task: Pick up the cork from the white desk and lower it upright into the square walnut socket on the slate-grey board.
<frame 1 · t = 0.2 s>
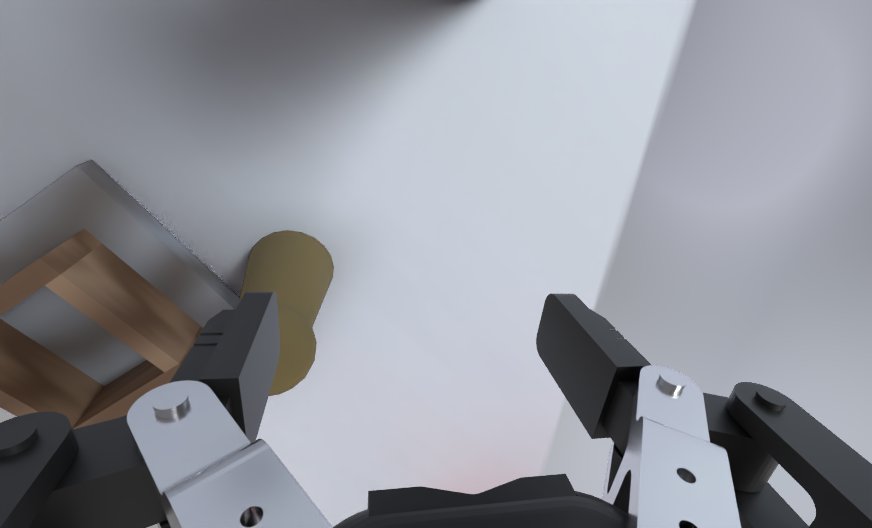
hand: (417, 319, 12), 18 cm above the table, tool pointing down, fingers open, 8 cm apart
cork: (292, 266, 30), on the table
socket block: (108, 312, 29), on the table
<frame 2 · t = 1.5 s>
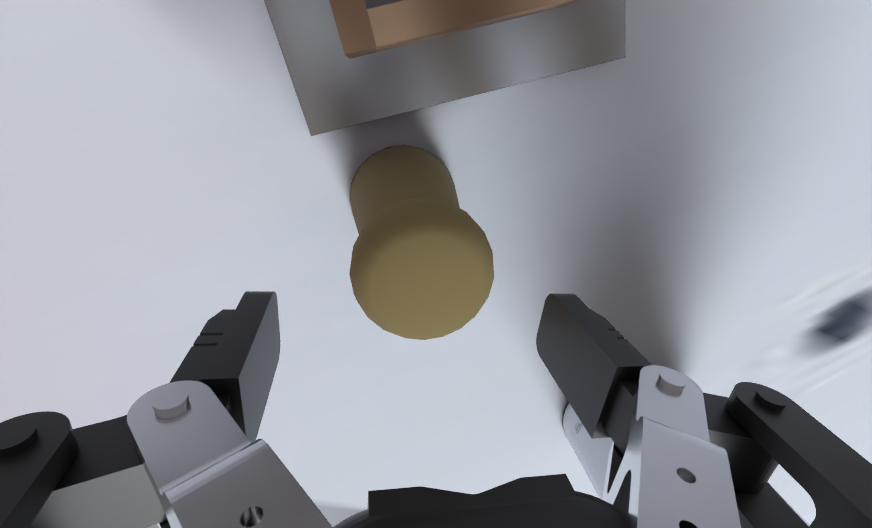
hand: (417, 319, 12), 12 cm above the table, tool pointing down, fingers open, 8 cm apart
cork: (403, 198, 23), on the table
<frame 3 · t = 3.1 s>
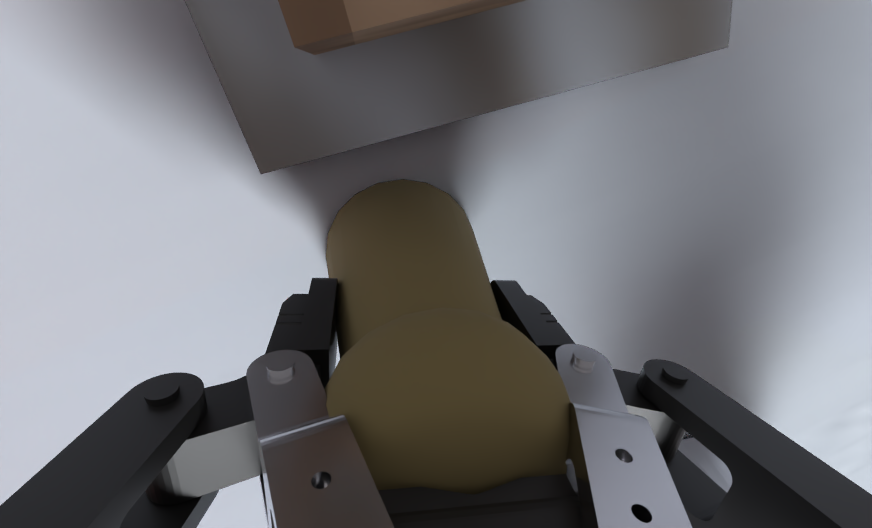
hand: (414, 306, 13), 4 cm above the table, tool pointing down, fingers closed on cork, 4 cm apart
cork: (402, 251, 17), on the table, touching gripper
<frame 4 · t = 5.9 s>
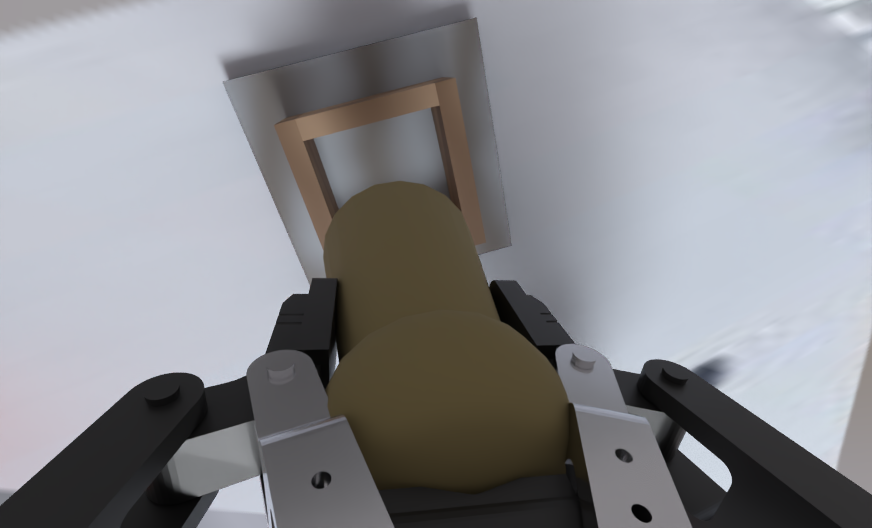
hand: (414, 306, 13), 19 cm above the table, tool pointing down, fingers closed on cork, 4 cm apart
cork: (399, 252, 17), point 15 cm above the table, touching gripper
socket block: (386, 170, 30), on the table
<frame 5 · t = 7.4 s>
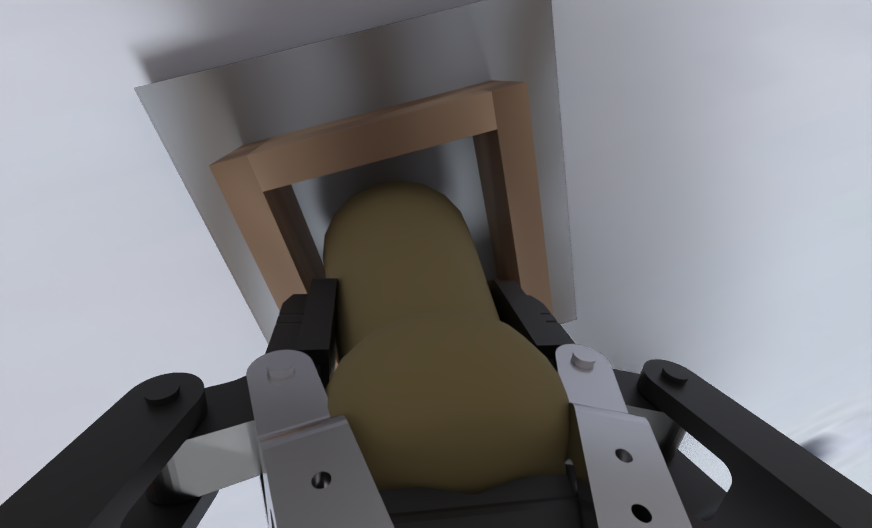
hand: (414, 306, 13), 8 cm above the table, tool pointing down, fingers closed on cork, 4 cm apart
cork: (398, 252, 17), point 4 cm above the table, touching gripper
socket block: (399, 217, 20), on the table
when the fingers open (7 cm above the table, at t = 8.5 s): cork drops 1 cm, resting on socket block.
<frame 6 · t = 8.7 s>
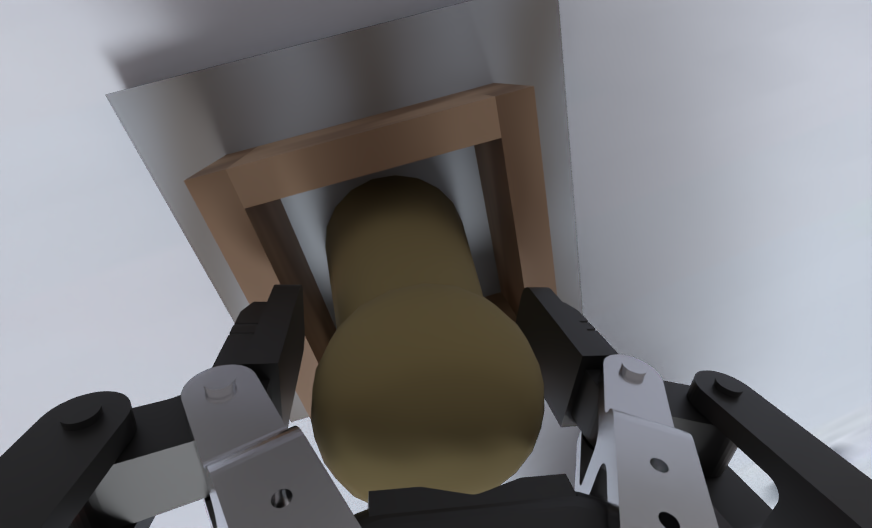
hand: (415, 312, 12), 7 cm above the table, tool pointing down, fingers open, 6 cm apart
cork: (396, 242, 18), point 1 cm above the table, touching socket block
socket block: (396, 229, 19), on the table
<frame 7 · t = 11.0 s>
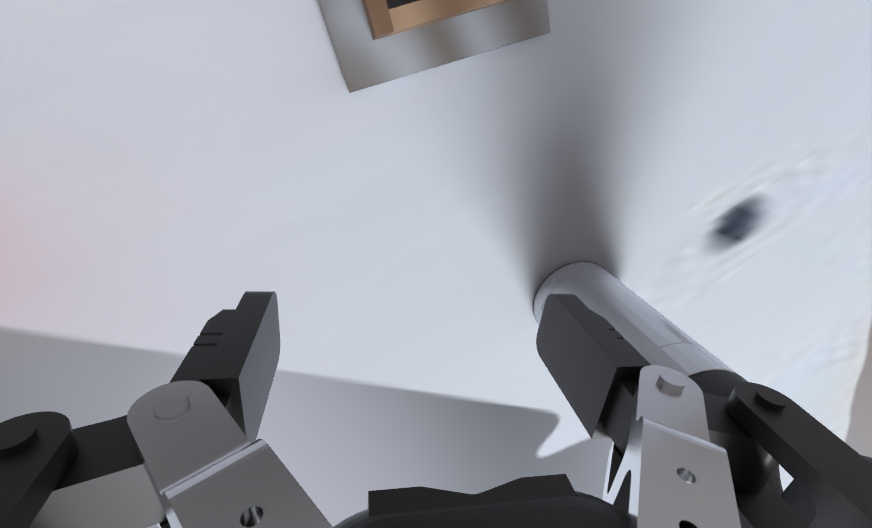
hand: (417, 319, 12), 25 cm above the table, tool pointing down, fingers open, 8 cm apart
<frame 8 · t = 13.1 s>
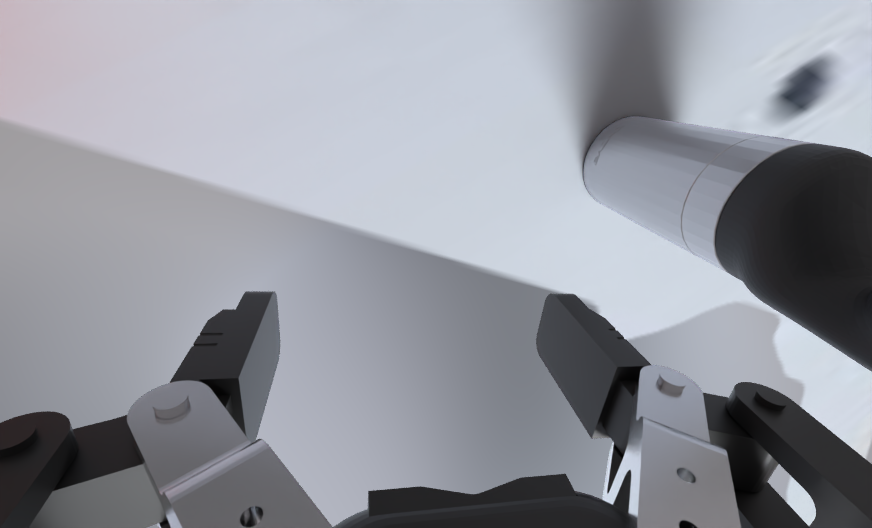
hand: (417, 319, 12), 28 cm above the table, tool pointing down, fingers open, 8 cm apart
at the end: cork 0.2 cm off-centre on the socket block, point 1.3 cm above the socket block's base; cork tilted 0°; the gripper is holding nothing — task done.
